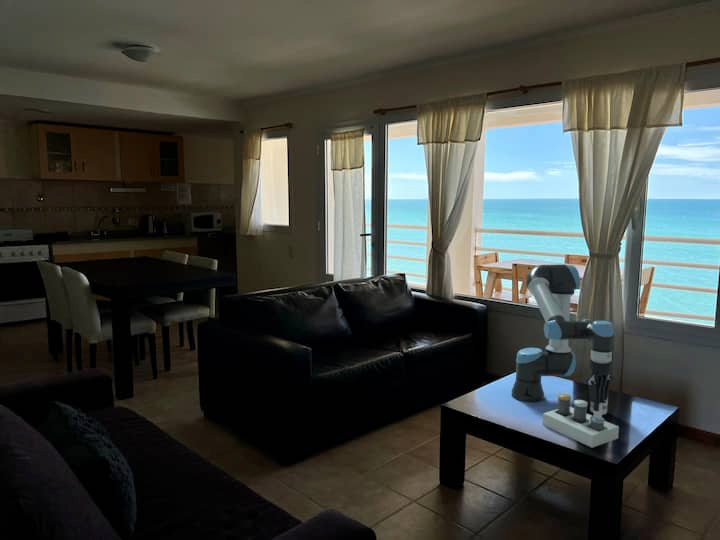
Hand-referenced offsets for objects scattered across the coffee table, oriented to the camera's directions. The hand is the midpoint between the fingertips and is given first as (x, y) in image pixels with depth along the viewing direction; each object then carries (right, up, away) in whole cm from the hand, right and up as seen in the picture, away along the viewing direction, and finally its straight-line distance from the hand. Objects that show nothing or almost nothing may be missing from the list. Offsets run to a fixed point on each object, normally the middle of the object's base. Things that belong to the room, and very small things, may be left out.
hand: (597, 418), depth 204 cm
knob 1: (-8, -2, +14) cm, 17 cm away
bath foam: (+13, -5, +28) cm, 31 cm away
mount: (-4, -8, +8) cm, 12 cm away
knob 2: (-4, -3, +8) cm, 9 cm away
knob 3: (0, -8, +1) cm, 8 cm away
